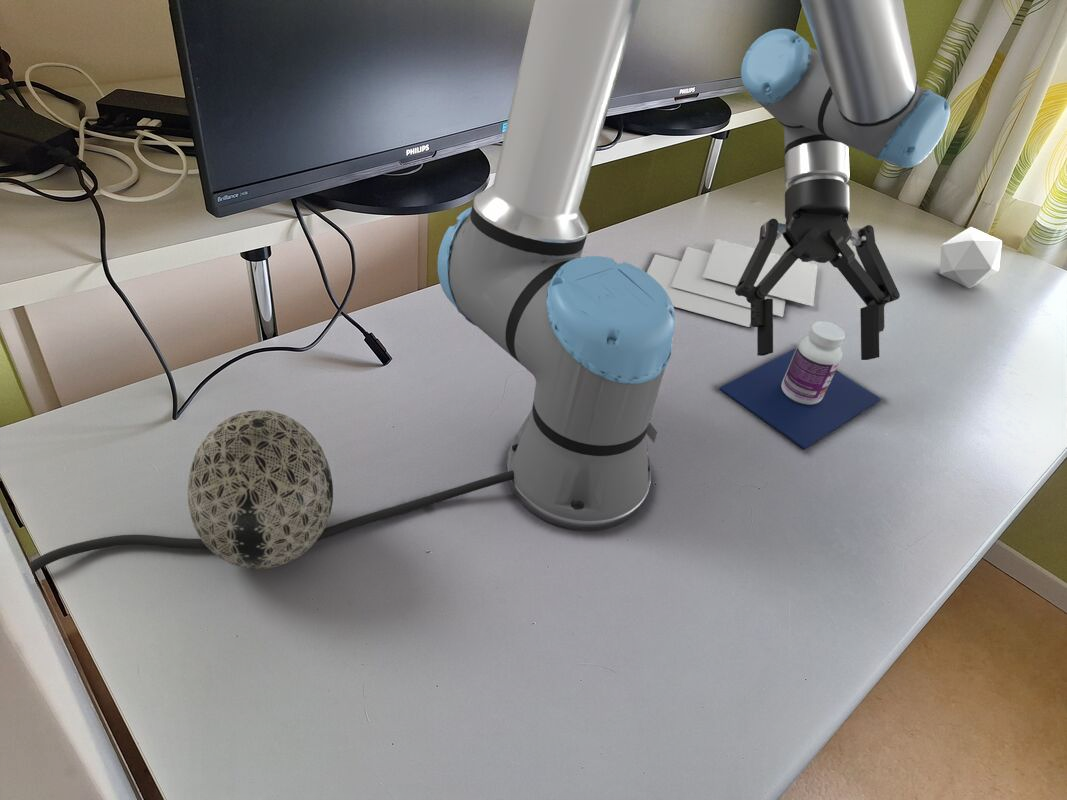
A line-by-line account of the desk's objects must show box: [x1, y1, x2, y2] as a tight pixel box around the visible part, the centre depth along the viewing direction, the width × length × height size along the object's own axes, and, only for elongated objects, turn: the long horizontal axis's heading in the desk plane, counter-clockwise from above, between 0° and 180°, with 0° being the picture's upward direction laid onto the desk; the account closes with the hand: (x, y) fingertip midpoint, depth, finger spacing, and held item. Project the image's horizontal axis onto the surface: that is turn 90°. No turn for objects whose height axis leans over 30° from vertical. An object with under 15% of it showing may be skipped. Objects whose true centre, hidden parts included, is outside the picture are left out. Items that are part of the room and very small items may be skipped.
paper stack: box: [646, 238, 819, 328], centre depth 117 cm, size 23×25×1 cm
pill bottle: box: [781, 321, 846, 405], centre depth 94 cm, size 5×5×10 cm
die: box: [939, 226, 1003, 289], centre depth 124 cm, size 8×9×10 cm
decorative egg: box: [187, 409, 334, 570], centre depth 65 cm, size 12×12×15 cm
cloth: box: [718, 347, 882, 450], centre depth 97 cm, size 17×13×1 cm
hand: (818, 356), depth 93 cm, fingers open, 13 cm apart
